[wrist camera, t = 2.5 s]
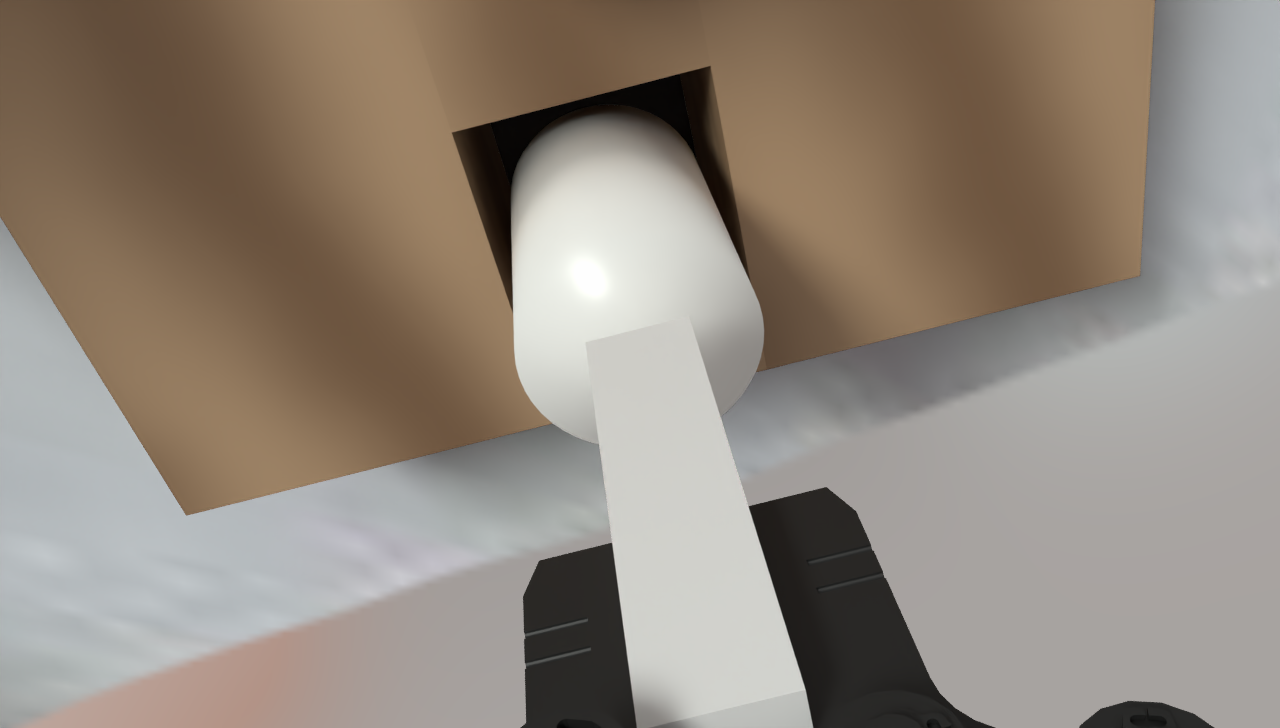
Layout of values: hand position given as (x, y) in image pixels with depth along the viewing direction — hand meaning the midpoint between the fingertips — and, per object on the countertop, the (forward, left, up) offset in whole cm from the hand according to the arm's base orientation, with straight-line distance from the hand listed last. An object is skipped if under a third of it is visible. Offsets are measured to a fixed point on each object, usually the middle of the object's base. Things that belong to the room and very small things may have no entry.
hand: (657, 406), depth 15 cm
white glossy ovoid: (0, 0, -8) cm, 8 cm away
